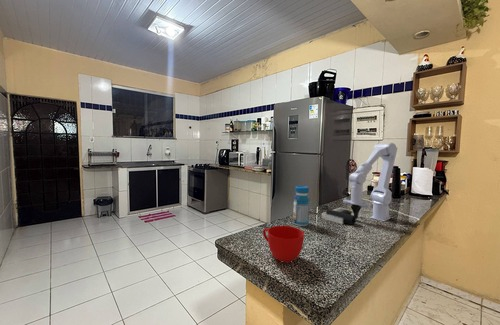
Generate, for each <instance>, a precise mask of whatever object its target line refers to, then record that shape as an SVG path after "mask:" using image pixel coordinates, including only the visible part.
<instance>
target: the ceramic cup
mask: <svg viewBox="0 0 500 325" xmlns="http://www.w3.org/2000/svg"><path fill="white" fill-rule="evenodd" d="M266 231H267V233H266ZM262 236H263V237H264V240H266V242H267V244H268V247H269V250H270V252H271V255H273V257H274V258H275V259H276V260H277V259H278V260H280V261H283V262H291V261H293V260H294V261H295V260H296V259H297V258H299V256H300V254H301V252H302V250H303V245H304V238H305V234H304V231H303V230H302V229H300V228H298V227H295V226H291V225H289V226H288V225H274V226H272V227H270V228H269V227H267V228H266V227H265V228H263V231H262ZM278 260H277V261H278ZM294 261H293V262H294ZM291 263H292V262H291Z"/></svg>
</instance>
